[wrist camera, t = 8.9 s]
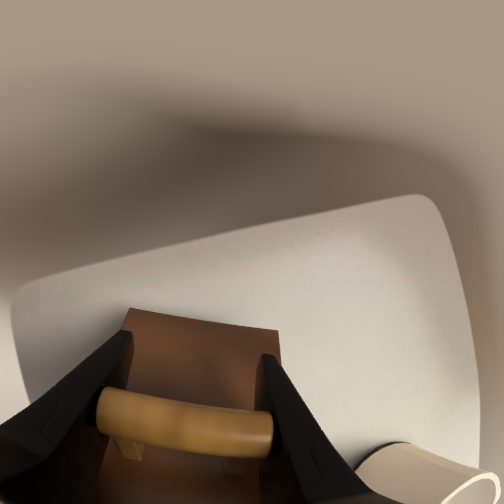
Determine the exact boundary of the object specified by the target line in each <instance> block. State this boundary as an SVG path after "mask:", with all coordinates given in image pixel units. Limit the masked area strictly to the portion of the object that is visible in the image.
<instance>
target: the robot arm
mask: <svg viewBox="0 0 504 504" xmlns="http://www.w3.org/2000/svg"><path fill="white" fill-rule="evenodd" d="M134 350H135V347H134V337H133V332H132V331H128V330H124V329H121V330H119V331H118V332H117V333H116V334H115V335H113V336H112V337H111V338H110V339H109V340H107V341H106V342H105V343H104V344H103V345H101V346H100V347H99V348H98V349H97V350H95V351H94V352H93V353H92V354H91V355H90V356H88V357H87V358H86V359H85V360H84V361H82V362H81V363H80V364H79V365H78V366H77V367H75V368H74V369H73V370H72V371H71V372H70V373H68V374H67V375H66V376H65V377H64V378H63V379H61V380H60V381H59V382H58V383H57V384H56V385H55V386H53V387H52V388H51V389H50V390H49V391H47V392H46V393H45V394H44V395H42V396H41V397H40V398H39V399H38V400H36V401H35V402H33V403H32V404H31V405H29V406H28V407H27V408H25V409H24V410H22V411H21V412H19V413H18V414H16V415H15V416H13V417H12V418H10V419H9V420H7V421H6V422H4V423H3V424H1V425H0V504H91V503H92V499H93V495H94V490H95V487H96V484H97V480H98V476H99V473H100V469H101V466H102V463H103V459H104V456H105V453H106V449H107V446H108V443H109V440H110V436H109V435H106V434H102V433H100V432H99V431H98V429H97V425H96V408H97V403H98V399H99V396H100V394H101V392H102V390H103V389H104V388H105V387H107V386H110V387H114V388H118V389H122V390H126V387H127V382H128V378H129V373H130V369H131V364H132V360H133V356H134ZM254 410H257V411H268V412H270V413H271V416H272V419H273V442H272V447H271V451H270V453H269V456H268V457H267V458H265V459H257V460H258V473H259V485H260V496H261V504H404V503H401V502H398V501H396V500H393V499H391V498H388V497H386V496H383V495H381V494H379V493H377V492H375V491H373V490H372V489H371V488H369V487H368V486H367V485H366V484H365V483H364V482H363V481H362V480H361V478H360V477H359V476H358V475H357V474H356V473H355V472H354V471H353V469H352V468H351V467H350V466H349V465H348V464H347V463H346V461H345V460H344V459H343V458H342V457H341V455H340V454H339V453H338V452H337V451H336V449H335V448H334V447H333V445H332V444H331V442H330V441H329V439H328V438H327V437H326V435H325V433H324V432H323V430H321V427H320V426H319V424H318V423H317V421H316V420H315V418H314V417H313V415H312V413H311V412H310V410H309V409H308V407H307V406H306V404H305V403H304V401H303V399H302V398H301V396H300V395H299V393H298V392H297V390H296V388H295V387H294V385H293V384H292V382H291V380H290V379H289V377H288V376H287V374H286V372H285V371H284V369H283V368H282V366H281V364H280V363H279V361H278V359H277V358H276V356H275V355H274V354H271V353H262V354H261V356H260V359H259V362H258V365H257V369H256V380H255V397H254Z"/></svg>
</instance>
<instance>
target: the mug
mask: <svg viewBox="0 0 504 504" xmlns="http://www.w3.org/2000/svg"><path fill="white" fill-rule="evenodd" d="M353 471H354V472H355V473H356V474H357V475H358V476H359V477H360V478H361V480H362V481H363V482H364V483H365V484H366V485H367V486H368V487H369V488H371V489H372V490H373V491H375V492H377V493H379V494H381V495H383V496H386V497H388V498H391V499H393V500H396V501H398V502H401V503H404V504H496V502H497V500H498V499H499V497H500V493H501V487H500V482H499V479H498V477H497V476H496V475H495V474H494V473H492V472H489V471H485V470H480V469H476V468H472V467H468V466H464V465H461V464H459V463H456V462H453V461H451V460H448V459H446V458H443V457H441V456H438V455H436V454H433V453H431V452H428V451H426V450H424V449H421V448H419V447H417V446H415V445H412V444H410V443H405V442H396V443H390V444H387V445H385V446H382V447H380V448H378V449H376V450H374V451H373V452H371V453H370V454H368V455H367V456H366V457H365V458H364V459H362V460H361V461H360V462H359V464H358V465H357V466H356V467H355V468H354V469H353Z"/></svg>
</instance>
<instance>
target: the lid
mask: <svg viewBox="0 0 504 504" xmlns="http://www.w3.org/2000/svg"><path fill="white" fill-rule="evenodd" d="M121 329H124V330H128V331H132V332H133V337H134V347H135V350H134V356H133V360H132V364H131V369H130V373H129V378H128V382H127V387H126V390H122V389H118V388H114V387H110V386H107V387H105V388H104V389H103V390H102V392H101V394H100V396H99V399H98V403H97V408H96V425H97V429H98V431H99V432H100V433H102V434H106V435H109V436H110V440H109V443H108V446H107V449H106V453H105V456H104V459H103V463H102V466H101V469H100V473H99V476H98V480H97V484H96V487H95V490H94V495H93V499H92V503H91V504H261V496H260V485H259V473H258V460H257V459H265V458H267V457H268V456H269V453H270V451H271V447H272V442H273V419H272V416H271V413H270V412H268V411H257V410H254V397H255V380H256V369H257V365H258V362H259V359H260V356H261V354H262V353H271V354H274V355H275V356H276V358H277V359H278V361H279V363H280V364H281V355H280V344H279V333H278V330H270V329H261V328H253V327H245V326H238V325H230V324H223V323H216V322H210V321H203V320H197V319H190V318H184V317H178V316H172V315H167V314H161V313H156V312H150V311H145V310H140V309H135V308H129V310H128V313H127V315H126V317H125V320H124V322H123V325H122V327H121ZM121 329H120V330H121Z"/></svg>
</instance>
